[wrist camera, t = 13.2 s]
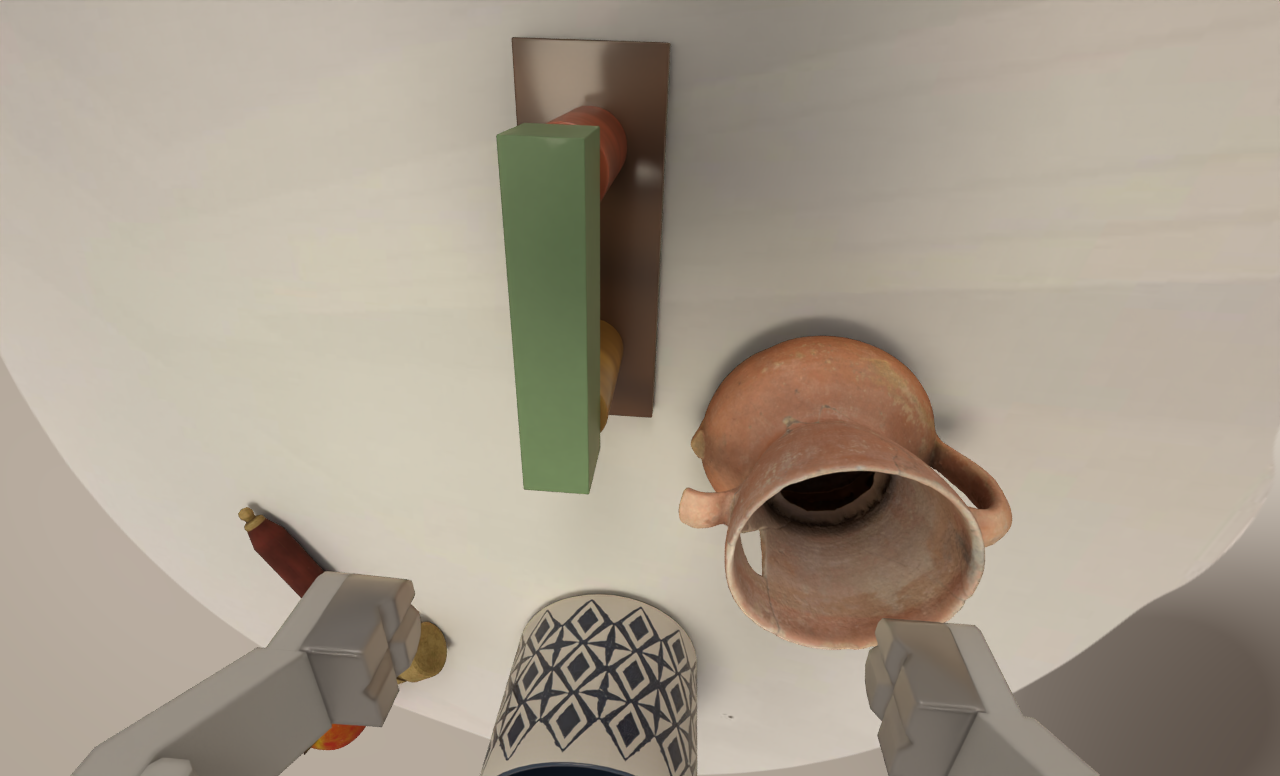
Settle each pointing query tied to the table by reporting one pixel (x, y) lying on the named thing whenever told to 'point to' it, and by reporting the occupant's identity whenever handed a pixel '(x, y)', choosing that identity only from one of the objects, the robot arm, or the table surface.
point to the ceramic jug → (840, 494)
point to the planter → (598, 694)
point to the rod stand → (613, 187)
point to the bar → (554, 297)
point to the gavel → (304, 570)
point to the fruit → (337, 737)
